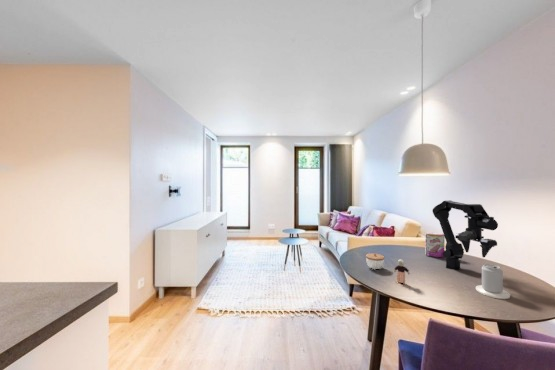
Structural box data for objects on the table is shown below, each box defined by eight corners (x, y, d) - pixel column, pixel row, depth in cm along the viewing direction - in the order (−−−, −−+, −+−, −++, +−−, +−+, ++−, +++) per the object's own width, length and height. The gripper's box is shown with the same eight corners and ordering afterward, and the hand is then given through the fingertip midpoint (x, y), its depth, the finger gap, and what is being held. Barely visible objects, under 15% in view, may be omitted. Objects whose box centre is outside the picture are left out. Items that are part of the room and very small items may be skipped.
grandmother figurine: (393, 283, 122) (393, 259, 121) (393, 280, 125) (393, 257, 125) (410, 285, 118) (410, 261, 118) (409, 282, 122) (409, 259, 122)
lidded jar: (365, 270, 140) (365, 255, 140) (366, 264, 150) (365, 250, 150) (385, 272, 136) (384, 257, 136) (383, 266, 146) (383, 251, 146)
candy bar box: (426, 256, 164) (425, 233, 164) (425, 254, 168) (424, 232, 168) (445, 258, 159) (444, 234, 159) (443, 256, 164) (442, 233, 164)
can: (505, 295, 104) (504, 269, 104) (483, 291, 108) (483, 266, 108) (500, 289, 111) (500, 264, 111) (480, 285, 115) (479, 262, 115)
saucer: (477, 294, 108) (477, 292, 108) (474, 285, 118) (474, 283, 118) (512, 301, 101) (512, 299, 101) (507, 291, 110) (507, 289, 110)
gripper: (447, 224, 134) (447, 250, 134) (479, 230, 116) (479, 261, 116) (463, 223, 136) (464, 249, 136) (497, 229, 117) (498, 259, 117)
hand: (475, 254), depth 126 cm, fingers open, 9 cm apart
